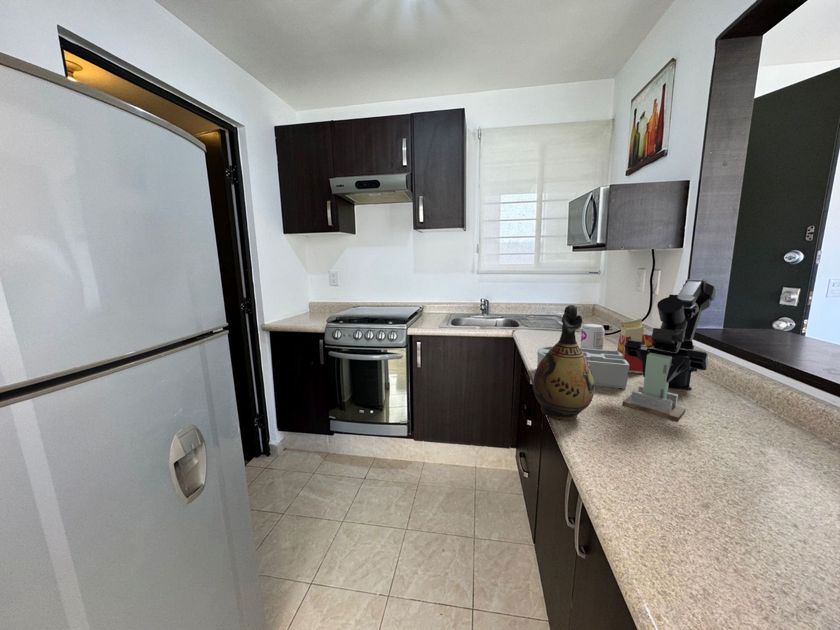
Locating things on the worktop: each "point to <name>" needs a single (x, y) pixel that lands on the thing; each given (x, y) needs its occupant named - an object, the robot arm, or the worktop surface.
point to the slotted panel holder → (655, 404)
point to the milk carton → (631, 332)
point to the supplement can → (592, 336)
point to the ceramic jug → (564, 374)
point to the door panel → (657, 375)
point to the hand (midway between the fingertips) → (655, 379)
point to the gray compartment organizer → (601, 366)
